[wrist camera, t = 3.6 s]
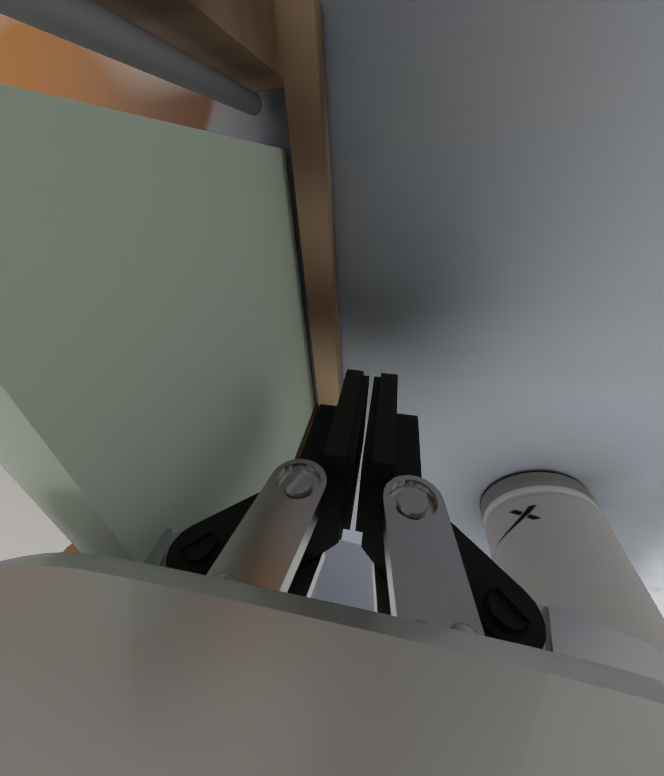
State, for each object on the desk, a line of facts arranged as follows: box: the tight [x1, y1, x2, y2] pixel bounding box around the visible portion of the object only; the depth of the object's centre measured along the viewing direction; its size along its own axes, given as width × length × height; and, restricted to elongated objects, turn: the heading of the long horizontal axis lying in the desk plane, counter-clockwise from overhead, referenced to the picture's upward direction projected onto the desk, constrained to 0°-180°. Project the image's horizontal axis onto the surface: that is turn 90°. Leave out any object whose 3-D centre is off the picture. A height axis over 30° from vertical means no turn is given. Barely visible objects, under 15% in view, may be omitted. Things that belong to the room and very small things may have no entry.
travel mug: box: [480, 472, 664, 652], centre depth 12 cm, size 6×7×20 cm
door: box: [0, 0, 315, 563], centre depth 10 cm, size 14×2×12 cm, turn 4°
